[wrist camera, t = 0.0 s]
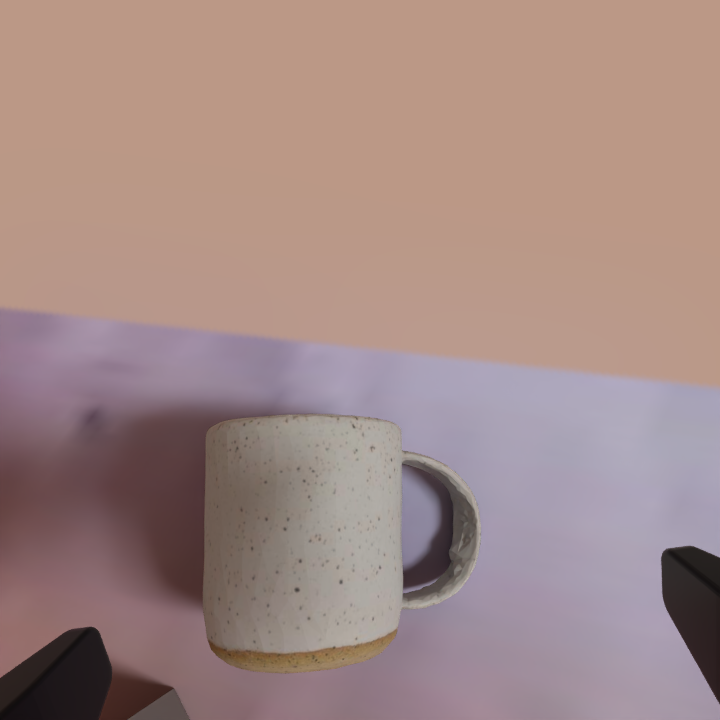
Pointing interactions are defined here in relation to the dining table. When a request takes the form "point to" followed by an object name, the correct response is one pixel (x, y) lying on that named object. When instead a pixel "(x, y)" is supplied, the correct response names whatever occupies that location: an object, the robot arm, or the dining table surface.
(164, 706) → the housing
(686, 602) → the robot arm
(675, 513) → the dining table surface
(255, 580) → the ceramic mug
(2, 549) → the dining table surface
